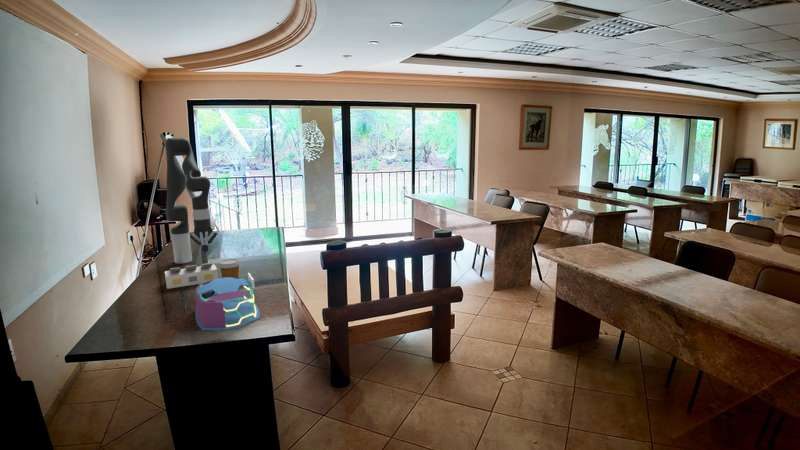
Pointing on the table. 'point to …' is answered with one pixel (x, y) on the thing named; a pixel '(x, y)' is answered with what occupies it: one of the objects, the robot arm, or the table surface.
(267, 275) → the table surface
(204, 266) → the rocker
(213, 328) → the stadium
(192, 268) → the block
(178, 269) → the rocker
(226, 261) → the disposable coffee cup
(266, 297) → the table surface
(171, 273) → the console
